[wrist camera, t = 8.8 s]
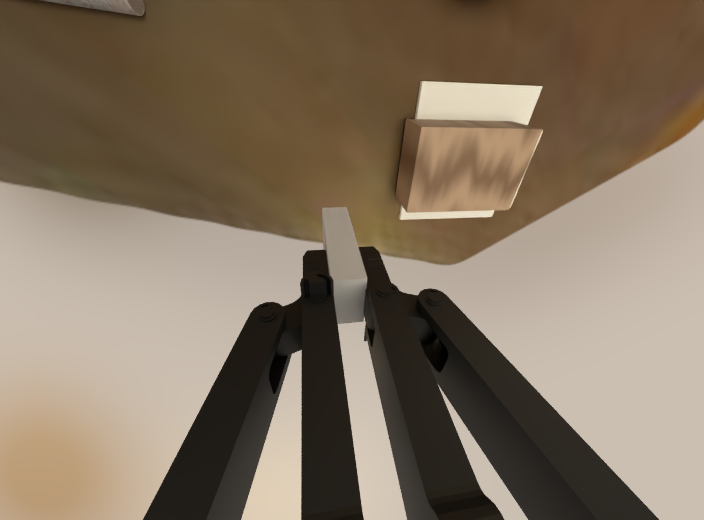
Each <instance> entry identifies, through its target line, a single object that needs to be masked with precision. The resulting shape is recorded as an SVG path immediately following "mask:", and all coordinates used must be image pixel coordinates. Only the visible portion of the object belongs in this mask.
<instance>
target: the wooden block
mask: <svg viewBox="0 0 704 520" xmlns="http://www.w3.org/2000/svg"><path fill="white" fill-rule="evenodd" d="M542 130H543V129H540V128H536V127H532V126H529V125H525V124H521V123H517V122H513V121H477V120H432V119H406V123H405V130H404V137H403V144H402V151H401V158H400V165H399V172H398V180H397V187H396V194H395V196H396V198H397V199H398V201H399V202H400V204H401V205H402V207H403V208H404V209H405V211H406V212H407V213H415V212H452V211H488V210H509V208H510V207H511V205H512V203H513V200H514V198H515V196H516V193H517V191H518V189H519V186H520V184H521V182H522V179H523V177H524V175H525V172H526V170H527V167H528V165H529V163H530V160H531V158H532V156H533V153H534V151H535V149H536V146H537V144H538V142H539V139H540V137H541V134H542V132H543V131H542Z"/></svg>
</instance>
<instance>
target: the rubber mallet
mask: <svg viewBox="0 0 704 520" xmlns="http://www.w3.org/2000/svg"><path fill="white" fill-rule="evenodd" d="M41 1H47V2H53V3H60V4H66V5H73V6H79V7H86V8H92V9H99V10H105V11H112V12H118V13H124V14H131V15H137V16H142V15H143V14H144V12H145V6H144V2H143V0H41Z"/></svg>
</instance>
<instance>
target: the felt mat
mask: <svg viewBox="0 0 704 520" xmlns="http://www.w3.org/2000/svg"><path fill="white" fill-rule="evenodd" d="M542 87H543V86H525V85H501V84H478V83H454V82H431V81H420V87H419V93H418V100H417V106H416V112H415V119H432V120H477V121H513V122H517V123H521V124H525V125H528V123H529V120H530V118H531V115H532V112H533V110H534V107H535V105H536V102H537V100H538V97H539V94H540V92H541V89H542ZM493 213H494V210H488V211H452V212H415V213H407V212H406V211H405V209H404V208H403V207H402V205H401V207H400V214H399V219H400V220H405V219H437V218H469V217H492V215H493Z"/></svg>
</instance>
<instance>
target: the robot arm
mask: <svg viewBox="0 0 704 520" xmlns="http://www.w3.org/2000/svg"><path fill="white" fill-rule="evenodd" d="M322 223H323V247H324V250H311V251H307V252H306V253H305V255H304V256H303V278H302V279H301V282H300V286H301V297H300V298H299V299H298V300H297V301H295V302H293V303H291V304H289V305H286V306H281V305H280V304H279V303H275V302H266V303H263V304H260V305H259V306H257V307H256V308H254V309H253V311H252V312H251V313H250V316H249V317H248V319H247V321H246V323H245V325H244V327H243V329H242V331H241V333H240V335H239V337H238V338H237V340H236V342H235V344H234V346H233V348H232V350H231V352H230V354H229V356H228V358H227V359H226V361H225V363H224V365H223V367H222V369H221V371H220V373H219V375H218V377H217V379H216V381H215V382H214V385H213V386H212V388H211V390H210V392H209V394H208V396H207V398H206V400H205V402H204V404H203V405H202V407H201V409H200V411H199V413H198V415H197V417H196V419H195V421H194V423H193V425H192V427H191V429H190V430H189V432H188V434H187V436H186V438H185V440H184V442H183V444H182V446H181V448H180V450H179V452H178V453H177V456H176V457H175V459H174V461H173V463H172V465H171V467H170V469H169V471H168V473H167V475H166V477H165V478H164V480H163V483H162V484H161V486H160V488H159V490H158V492H157V494H156V496H155V498H154V500H153V502H152V503H151V505H150V507H149V509H148V511H147V513H146V515H145V517H144V519H143V520H241V518H242V514H243V511H244V508H245V504H246V501H247V498H248V495H249V492H250V488H251V485H252V482H253V479H254V475H255V472H256V469H257V465H258V462H259V459H260V456H261V452H262V449H263V446H264V443H265V440H266V436H267V433H268V430H269V427H270V423H271V420H272V417H273V414H274V410H275V407H276V404H277V400H278V397H279V394H280V391H281V387H282V384H283V381H284V378H285V374H286V371H287V368H288V365H289V362H290V358H291V354H292V353H295V352H297V351H299V350H302V498H301V500H302V501H301V502H302V504H301V509H302V510H301V511H302V512H301V515H302V517H301V520H364V518H363V514H362V506H361V499H360V491H359V484H358V476H357V468H356V461H355V453H354V447H353V438H352V430H351V423H350V415H349V408H348V401H347V393H346V386H345V378H344V370H343V363H342V355H341V347H340V341H339V332H338V325H337V324H341V323H352V322H362V321H363V319H364V317H365V321H366V326H365V336H364V341H368V345H369V350H370V354H371V359H372V363H373V367H374V372H375V377H376V381H377V385H378V390H379V394H380V399H381V404H382V408H383V413H384V417H385V421H386V426H387V430H388V435H389V439H390V444H391V448H392V452H393V457H394V462H395V466H396V470H397V475H398V479H399V484H400V489H401V493H402V498H403V502H404V506H405V511H406V515H407V520H504V519H503V516H502V514H501V513H500V511H499V510H498V508H497V507H496V505H495V504H494V503H493V502H492V501H491V500H490V499H489V498H488V497H486V496H485V495H484V493H483V492H482V490H481V488H480V486H479V484H478V482H477V480H476V477H475V475H474V472H473V470H472V468H471V465H470V463H469V460H468V458H467V455H466V453H465V450H464V448H463V445H462V443H461V440H460V438H459V436H458V433H457V431H456V428H455V426H454V423H453V421H452V418H451V416H450V414H449V411H448V409H447V406H446V404H445V401H444V399H443V396H442V394H441V392H440V389H439V387H438V385H439V386H440V388H441V389H442V391H443V392H444V394H445V395H446V397H447V398H448V400H449V401H450V403H451V404H452V406H453V407H454V409H455V410H456V412H457V413H458V415H459V416H460V418H461V419H462V421H463V422H464V424H465V425H466V427H467V428H468V430H469V431H470V433H471V434H472V436H473V437H474V439H475V440H476V442H477V443H478V445H479V446H480V448H481V449H482V451H483V452H484V454H485V455H486V457H487V458H488V460H489V461H490V463H491V464H492V466H493V467H494V469H495V470H496V472H497V473H498V475H499V476H500V478H501V479H502V481H503V482H504V484H505V485H506V487H507V488H508V490H509V491H510V493H511V494H512V496H513V497H514V499H515V500H516V502H517V503H518V505H519V506H520V508H521V509H522V511H523V512H524V513H525V515H526V517H527V518H528V520H659V519H658V518H657V517H656V516H655V515H654V514H653V513H652V512H651V511H650V510H649V509H648V507H647V506H646V505H645V504H644V503H643V502H642V501H641V500H640V499H639V498H638V497H637V496H636V495H635V494H634V493H633V492H632V491H631V490H630V488H629V487H628V486H627V485H626V484H625V483H624V482H623V481H622V480H621V479H620V478H619V477H618V476H617V475H616V474H615V473H614V472H613V471H612V470H611V468H610V467H609V466H608V465H607V464H606V463H605V462H604V461H603V460H602V459H601V458H600V457H599V456H598V455H597V454H596V453H595V451H594V450H593V449H591V447H590V446H589V445H588V444H587V443H586V442H585V441H584V440H583V439H582V438H581V437H580V436H579V435H578V434H577V433H576V432H575V430H573V428H572V427H571V426H570V425H569V424H568V423H567V422H566V421H565V420H564V419H563V418H562V417H561V416H560V415H559V414H558V412H557V411H556V410H555V409H554V408H553V407H552V406H551V405H550V404H549V403H548V402H547V401H546V400H545V399H544V398H543V397H542V396H541V395H540V393H539V392H537V390H536V389H535V388H534V387H533V386H532V385H531V384H530V383H529V382H528V381H527V380H526V379H525V378H524V377H523V376H522V374H521V373H520V372H519V371H517V369H516V368H515V367H514V366H513V365H512V364H511V363H510V362H509V361H508V360H507V359H506V358H505V357H504V356H503V354H502V353H501V352H500V351H499V350H498V349H497V348H496V347H495V346H494V345H493V344H492V343H491V342H490V341H489V340H488V339H487V338H486V336H485V335H484V334H483V333H482V332H481V331H480V330H479V329H478V328H477V327H476V326H475V325H474V324H473V323H472V322H471V321H470V320H469V319H468V318H467V316H465V314H464V313H463V312H462V311H461V310H460V309H459V308H458V307H457V306H456V305H455V304H454V303H453V302H452V301H451V300H450V299H449V297H447V295H445V294H444V293H443V292H441V291H439V290H436V289H424V290H422V291H421V292H420V293H419V295H412V294H406V293H403V292H401V291H399V289H398V288H397V287H396V286H395V285H394V284H392V283H391V282H390V279H389V276H388V274H387V271H386V269H385V266H384V264H383V261H382V259H381V256H380V253H379V251H378V250H376V249H375V248H374V247H373V246H372V247H358V244H357V241H356V237H355V234H354V230H353V227H352V224H351V220H350V217H349V213H348V210H347V207H331V208H322ZM437 383H438V384H437Z"/></svg>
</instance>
